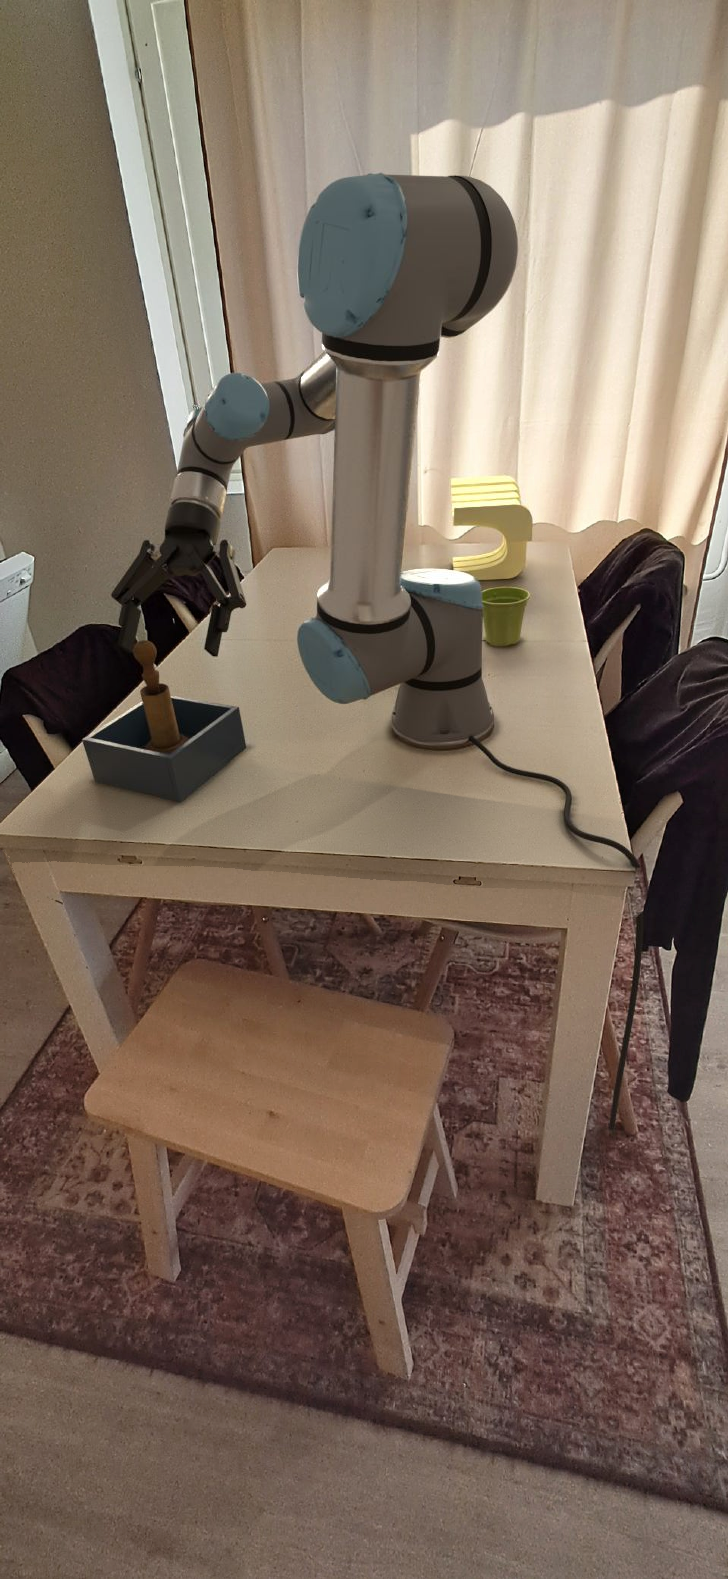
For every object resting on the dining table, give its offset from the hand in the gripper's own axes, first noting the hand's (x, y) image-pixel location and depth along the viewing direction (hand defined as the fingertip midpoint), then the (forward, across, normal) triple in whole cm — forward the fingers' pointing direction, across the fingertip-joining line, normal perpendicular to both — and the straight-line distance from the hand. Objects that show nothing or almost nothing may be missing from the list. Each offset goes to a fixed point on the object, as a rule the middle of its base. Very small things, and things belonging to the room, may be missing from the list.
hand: (167, 651), depth 107 cm
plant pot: (-22, -40, -44) cm, 64 cm away
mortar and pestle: (+14, 0, -7) cm, 16 cm away
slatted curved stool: (-52, -31, -74) cm, 96 cm away
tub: (+14, 0, -8) cm, 16 cm away
